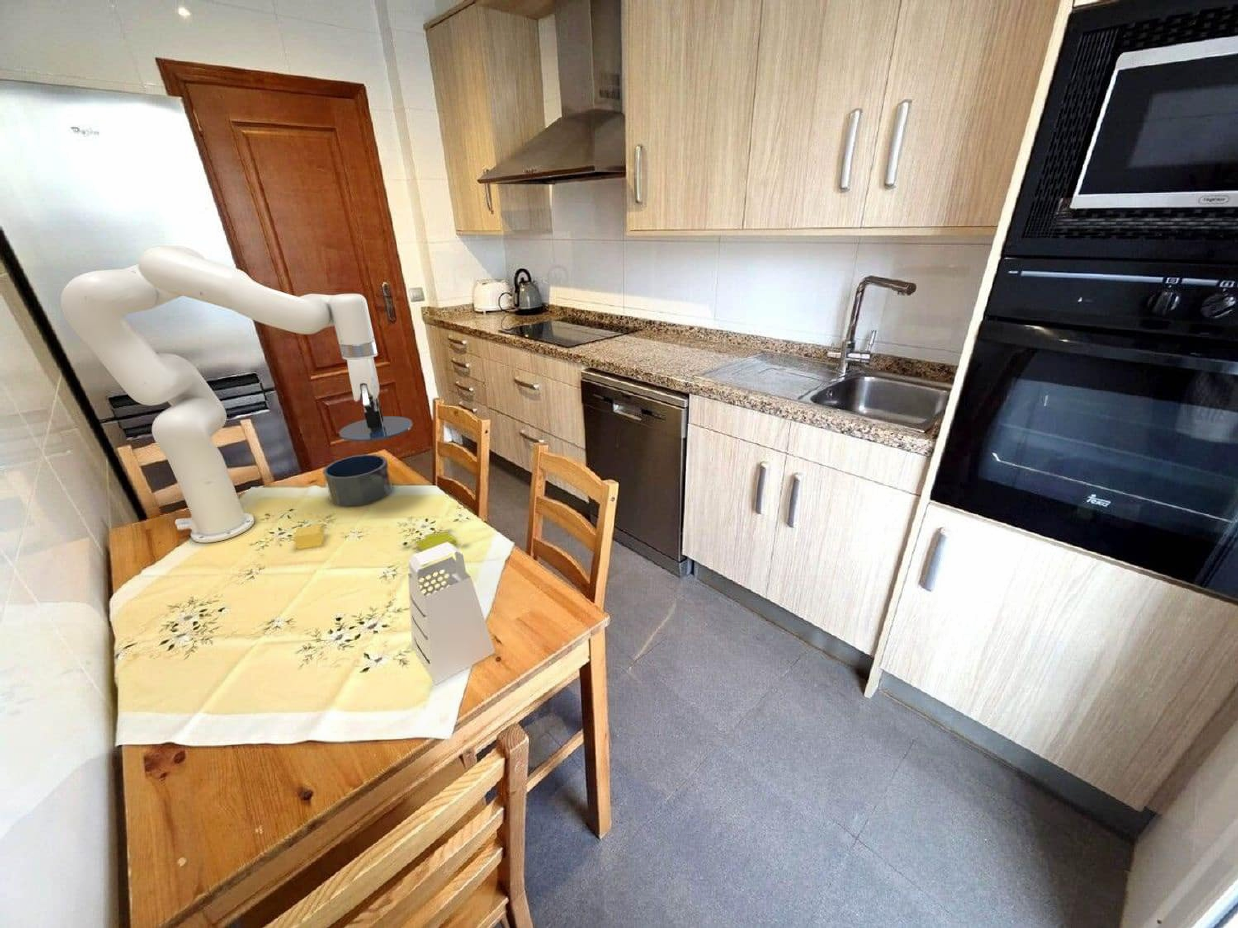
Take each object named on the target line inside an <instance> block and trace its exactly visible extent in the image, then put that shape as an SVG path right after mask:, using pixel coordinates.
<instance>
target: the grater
mask: <svg viewBox="0 0 1238 928" xmlns="http://www.w3.org/2000/svg"><path fill="white" fill-rule="evenodd" d="M452 554H454V556H455V558H454V557H453V556H450V555H452ZM447 556H450V557H447ZM444 557H447V558H445V559H443V560H439V559H441V558H444ZM437 560H439V561H438V562H435V563H433V564H430V565H428V566H425V567H423V568H422V566H423V565H426V564H429V563H431V562H434V561H437ZM408 567H409V571H410V572H409V573H408V574H407V579H408V594H409V595H408V596H409V597H408V598H409V612H410V614H409V615H410V631H411V633H410V634H411V648H412V650H413V651H414V653H415V655H416V656H417V658H418V660H419V661H420V662H421V664H422V666H423V667H424V669H425V670H426V672H427V674H428V675H429V677H430V678H431V680H432V681H433V683H434V685H435V686H436V685H439V684H440V683H442V682H444V681H447V680H448V679H450V678H451V677H453V676H455V675H457V674H459V673H461V672H463V671H464V670H466V669H468V668H470V667H472V666H474V665H475V664H477V663H479V662H481V661H483V660H485V659H487V658H489V657H490V656H492V655H494V654H496V650H495V647H494V644H493V641H492V637H491V634H490V631H489V628H488V625H487V623H486V619H485V616H484V613H483V610H482V608H481V607H482V606H481V604H480V601H479V597H478V594H477V591H476V588H475V585H474V583H473V582H474V581H473V578H472V576H471V575H469V573H468V572H467V570H466V566H465V557H464V553H462V552H461V551H460V550H459V549H458V548H457V546H454V545H452V544H451V543H449V542H446V543H443V544H440V545H438V546H435V547H432V548H430V549H427V550H424V551H422V552H421V551H419V552H417V553H414V554H412V556H411V557H410V559H409V560H408ZM442 570H443V573H441V571H442ZM435 573H437V575H435V576H434V574H435ZM446 575H448V576H447V577H445V576H446ZM428 576H430V578H429V579H427V577H428ZM441 577H442V579H441V580H439V578H441ZM421 579H423V580H422V581H420V580H421ZM433 580H435V582H434V583H432V581H433ZM443 582H445V583H444V584H442V583H443ZM426 583H428V585H427V586H425V584H426ZM436 585H439V586H438V587H436ZM430 587H431V588H432V589H431V590H429V588H430ZM423 590H426V591H425V592H424V593H423V592H422V591H423ZM427 660H429V661H427Z"/></svg>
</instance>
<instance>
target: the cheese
mask: <svg viewBox="0 0 1238 928" xmlns="http://www.w3.org/2000/svg"><path fill="white" fill-rule="evenodd" d="M292 537H293V540H294V543H295V546H296V549H297V550H304V549H309V548H315V547H322V545H323V543H324V540H325V538H326V536H325V532H324V529H323V525H322V524H315V525H309V526H302V527H297V529H296V530H295V532H294V535H293V536H292Z"/></svg>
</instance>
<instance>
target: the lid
mask: <svg viewBox="0 0 1238 928" xmlns="http://www.w3.org/2000/svg"><path fill="white" fill-rule="evenodd" d="M377 411H379V413H380V410H379V407H378V406H377ZM380 418H381V414H380ZM381 422H382V419H381ZM412 428H413V421H412V420H411V419H410V418H408V417H403V416H394V415H393V416H383V422H382V427H378V428H368V427H367V422H366V419H362V420H358V421H355V422H352V423H350V424H348V425H346V426H344V427H342V428H341V429H340V431H339V432H338V433H339V437H340V438H341V439H343V440H345V441H349V442H373V441H381V440H385V439H391V438H394V437H397V436H399V435H402V434H404V433H406V432H408V431H409V430H411V429H412Z"/></svg>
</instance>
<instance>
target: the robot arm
mask: <svg viewBox="0 0 1238 928" xmlns="http://www.w3.org/2000/svg"><path fill="white" fill-rule="evenodd" d="M61 292H62V293H61V296H60V307H61V311H62V314H63V317H64V318H65V320H66V322H67V324H69V326H70V327H71V328H72V329H73V331H74V332H75V333H76V334H77V336H79V337H80V339H81V340H82V341H83V342H84V343H85V344H86V345H87V346H88V348H89V349H91V350H92V352H93V353H94V354H95V355H96V357H97V358H98V359H99V361H100V362H101V363H102V365H103V366H104V367H105V368H106V370H107V371H108V372H109V373H110V375H111V376H112V377H113V378H114V380H115V381H116V382H117V383H118V385H119V386H120V387H121V388H122V389H123V390H124V392H125V393H126V394H127V395H128V396H129V397H130V398H131V399H132V400H134V401H135V402H136V403H139V404H140V405H144V406H159V405H162V404H165V403H166V402H167V403H168V404H169V405H170V407H168V408H166V409H165V410H163V411H161V412H160V413H159V414H158V415H157V416H156V417H155V419H154V421H152V422H153V423H152V425H151V434H152V437H153V439H154V442H155V443H156V444H157V446H158V447H159V449H160V450H161V452H162V453H163V455H164V456H165V458H166V460H167V462H168V464H169V465H170V468H171V470H172V472H173V475H174V477H175V479H176V482H177V484H178V487H179V489H180V491H181V494H182V496H183V498H184V501H185V504H186V506H187V508H188V511H189V513H190V515H191V516H190V517H183V518H177V519H175V522H174V524H175V526H176V529H177V531H185V530H188V529H189V530H191V531H190V537H191V540H193V542H197V543H216V542H220V541H221V542H222V541H225V540H228V539H231V538H234V537H236V536H240V535H241V534H243V533H244V532H247V531H248V530H249V529H250V528H252V526H253V525H254V523H255V519H254V516H253V515H252V514H251V513H247V512H244V510H243V508H242V505H241V502H240V499H239V496H238V494H237V491H236V488H235V486H234V483H233V479H232V477H231V474H230V472H229V469H228V467H227V464H226V461H225V458H224V457H223V454H222V452H221V451H220V450H219V448H218V447H217V446H216V444H215V443H214V442H213V440H212V437H213V436H214V435H215V434H217V433H218V432H219V431H221V429H223V427H224V426H225V425H226V422H227V419H228V417H227V411H226V408H225V407H224V405H223V403H222V402H221V400H220V399H219V398H218V396H217V395H216V394H215V392H214V391H213V389H212V388H211V386H210V385H209V384H208V382H207V381H206V379H205V378H204V377H203V376H202V374H201V373H200V372H199V370H198V369H197V368H196V367H195V365H194V364H192V363H191V362H190V361H189V360H187V358H184V357H182V356H180V355H177V354H174V353H169V352H160V353H156V352H155V350H154V349H153V348H152V347H151V345H150V344H149V343H148V341H147V340H146V338H145V337H144V336H143V335H142V334H141V333H140V332H139V331H138V330H137V329H136V328H135V327H133V326H132V325H130V324H129V323H128V322H127V321H125V319H124V318H125V317H124V316H125V315H129V314H134V313H135V314H136V313H138V312H143V311H147V310H151V309H154V308H157V307H159V306H162V305H164V304H167V303H169V302H170V301H173V300H175V299H178V298H181V297H182V296H183V297H186V298H189V299H193V300H197V301H200V302H204V303H207V304H210V305H211V304H212V305H214V306H218V307H222V308H225V309H229V310H232V311H234V312H236V313H237V314H239V315H242V316H244V317H246V318H249V319H251V320H253V321H255V322H258V323H260V324H264V325H266V326H269V327H273V328H277V329H281V330H283V331H288V332H291V333H295V334H300V335H314V334H317V333H318V332H320V331H321V330H323V329H326V328H328V327H334V329H335V334H336V337H337V341H338V346H339V351H340V354H341V358H342V360H345V361H346V362H347V371H348V376H349V377H348V378H349V382H350V386H351V392H352V396H353V400H354V402H356V403H358V402H359V401H360V400H361V404H362V406H363V407H362V408H363V411H364V412H363V413H364V417H365V420H366V422H367V427H368V428H378V427H382V422H383V417H384V415H383V411H382V407H381V406H380V400H379V394H380V383H379V377H378V371H377V367H376V363H375V359H374V358H375V357H377V356H378V355H379V353H378V349H377V344H376V338H375V335H374V329H373V326H372V321H371V317H370V311H369V307H368V301H367V298H366V297H364V295H362V294H360V293H342V294H341V293H339V294H333V295H332V294H321V293H308V294H304V295H301V296H297V295H294V294H293V295H292V294H289V293H285V292H282V291H280V290H276V289H273V288H270V287H267V286H265V285H262V284H260V283H258V282H256V281H255V280H254V279H252V278H251V277H250V276H249V275H248V274H247V273H246V272H245V271H244V270H241V269H239V268H235V267H233V266H229V265H225V264H223V263H220V262H216V261H212V260H210V259H207V258H205V257H204V256H203V255H202V254H201V253H200V252H198V251H196V250H194V249H191V248H190V247H185V246H180V245H170V246H169V245H168V246H167V245H166V246H163V245H162V246H154V247H150V248H148V249H146V250H145V251H144V252H143V253H141V255H140V256H139V258H138V262H137V263H136V264H134V265H131V266H128V267H125V268H118V269H116V268H115V269H103V270H94V271H89V272H88V271H87V272H85V273H82V274H79V275H77V276H75V277H74V278H72V279H71V280H70V281H69V282H67V284H66V285H65V287H64V288H63V290H62V291H61ZM377 406H378V407H379V410H380V413H379V411H377ZM380 414H381V418H380ZM381 419H382V422H381Z"/></svg>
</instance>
